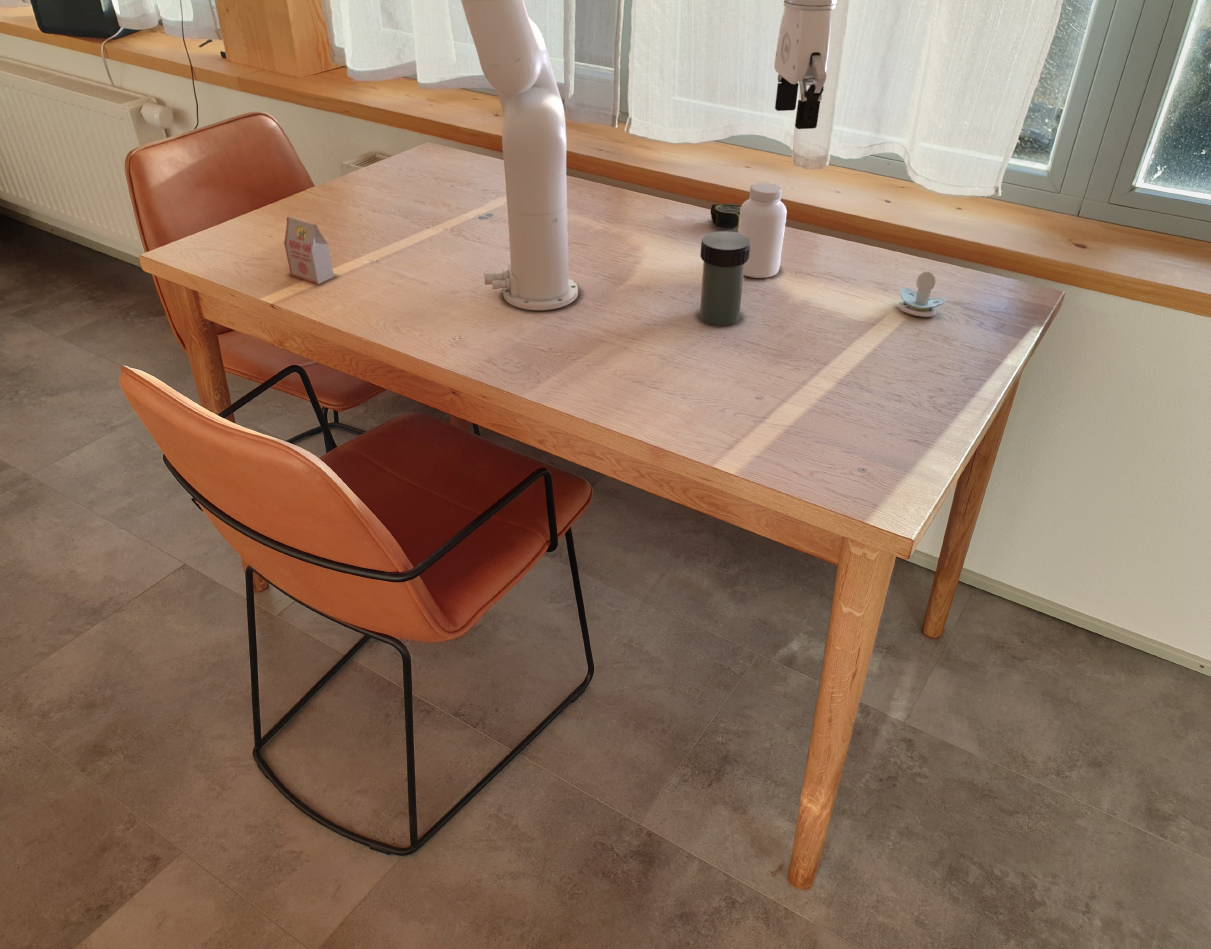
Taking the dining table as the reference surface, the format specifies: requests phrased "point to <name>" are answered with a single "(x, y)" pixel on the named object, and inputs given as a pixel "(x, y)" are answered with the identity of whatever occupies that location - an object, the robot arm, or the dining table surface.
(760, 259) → the pill bottle
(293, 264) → the white snack box
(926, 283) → the pacifier
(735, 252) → the lid
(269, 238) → the dining table surface
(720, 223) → the tape measure
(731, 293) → the jar
